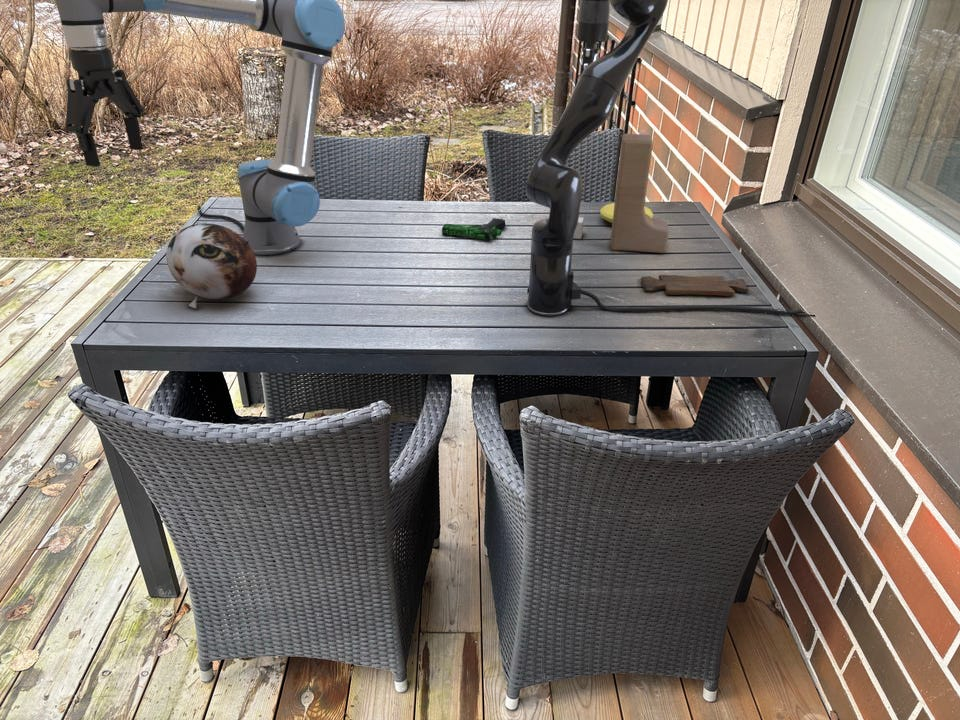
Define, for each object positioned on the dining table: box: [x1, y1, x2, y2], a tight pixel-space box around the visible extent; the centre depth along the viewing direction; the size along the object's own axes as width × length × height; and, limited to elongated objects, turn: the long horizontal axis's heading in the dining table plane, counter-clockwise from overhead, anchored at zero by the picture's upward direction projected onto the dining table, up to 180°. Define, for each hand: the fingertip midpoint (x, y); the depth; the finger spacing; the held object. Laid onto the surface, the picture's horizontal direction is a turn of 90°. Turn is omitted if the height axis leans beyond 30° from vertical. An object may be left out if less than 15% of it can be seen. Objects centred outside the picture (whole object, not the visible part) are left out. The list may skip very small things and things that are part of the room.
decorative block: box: [610, 133, 670, 254], centre depth 191 cm, size 8×15×30 cm, turn 82°
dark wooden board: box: [640, 274, 748, 297], centre depth 176 cm, size 26×2×10 cm
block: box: [573, 216, 585, 240], centre depth 205 cm, size 4×4×5 cm
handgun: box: [441, 217, 506, 242], centre depth 207 cm, size 16×3×15 cm
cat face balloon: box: [165, 222, 258, 309], centre depth 165 cm, size 22×18×20 cm
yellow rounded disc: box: [599, 202, 654, 224], centre depth 215 cm, size 16×16×7 cm
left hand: (116, 157), depth 150 cm, fingers open, 13 cm apart
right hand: (587, 88), depth 186 cm, fingers open, 8 cm apart
